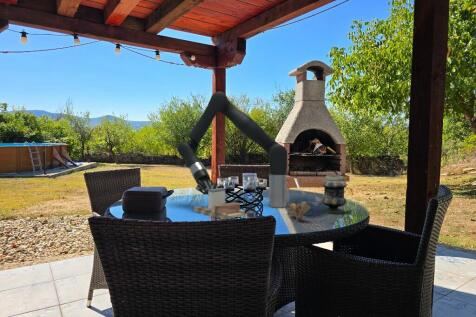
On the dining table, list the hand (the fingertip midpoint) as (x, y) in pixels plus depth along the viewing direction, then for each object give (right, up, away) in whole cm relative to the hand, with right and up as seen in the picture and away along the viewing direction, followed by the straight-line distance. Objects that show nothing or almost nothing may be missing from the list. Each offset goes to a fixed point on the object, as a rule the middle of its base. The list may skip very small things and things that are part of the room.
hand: (214, 199), depth 166 cm
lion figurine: (+39, -7, -13) cm, 41 cm away
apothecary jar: (+59, -7, +3) cm, 60 cm away
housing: (+2, -6, -2) cm, 7 cm away
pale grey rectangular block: (+1, -5, -1) cm, 5 cm away
